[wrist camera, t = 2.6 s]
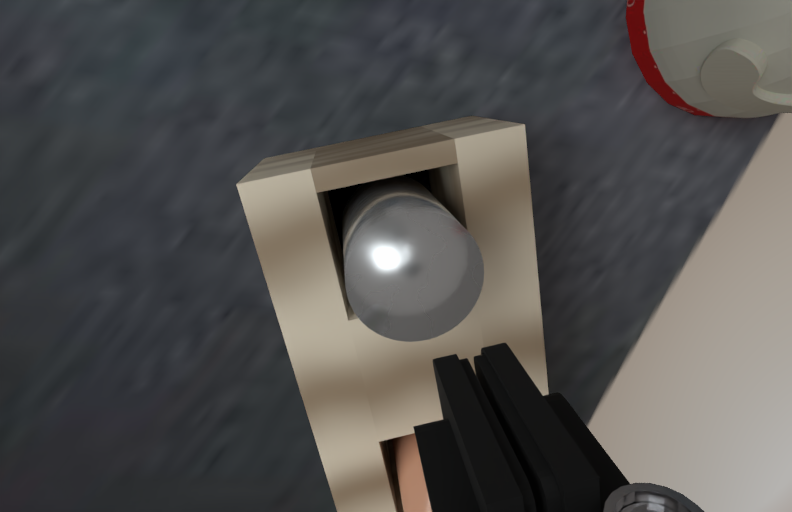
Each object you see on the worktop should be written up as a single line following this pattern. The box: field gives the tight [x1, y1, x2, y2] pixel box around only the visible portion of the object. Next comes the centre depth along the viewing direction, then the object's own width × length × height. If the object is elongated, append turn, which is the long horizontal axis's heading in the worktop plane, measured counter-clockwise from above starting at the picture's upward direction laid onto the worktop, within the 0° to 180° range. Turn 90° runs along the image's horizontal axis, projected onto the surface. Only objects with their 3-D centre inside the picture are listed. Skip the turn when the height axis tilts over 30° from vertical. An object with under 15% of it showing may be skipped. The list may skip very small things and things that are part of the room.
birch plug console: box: [236, 116, 549, 512], centre depth 26 cm, size 21×12×8 cm, turn 10°
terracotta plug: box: [392, 433, 432, 512], centre depth 25 cm, size 5×5×8 cm
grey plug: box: [342, 175, 484, 342], centre depth 20 cm, size 5×5×8 cm
